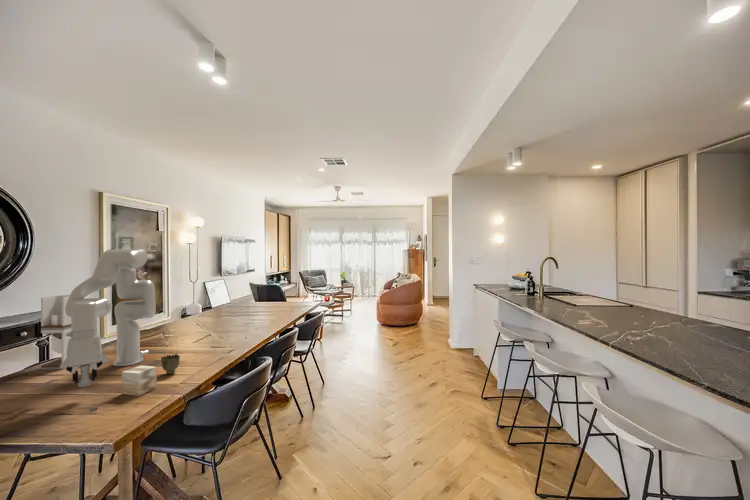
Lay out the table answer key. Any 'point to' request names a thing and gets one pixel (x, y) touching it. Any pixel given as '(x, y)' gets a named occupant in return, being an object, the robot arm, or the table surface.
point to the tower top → (138, 375)
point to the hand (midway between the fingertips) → (85, 380)
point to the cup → (170, 363)
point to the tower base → (140, 387)
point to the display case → (55, 326)
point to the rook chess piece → (84, 376)
